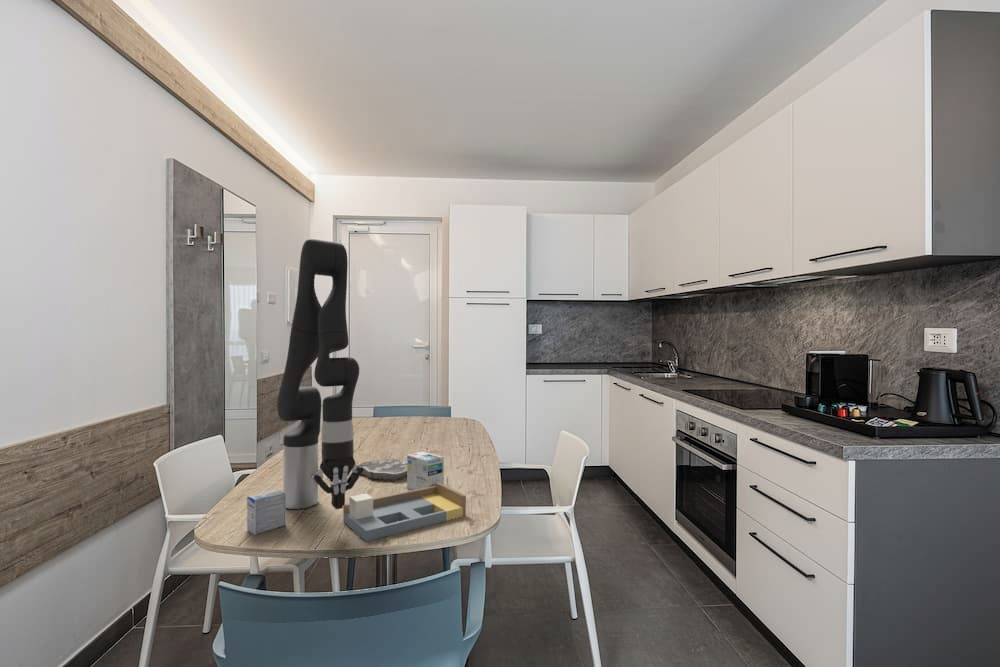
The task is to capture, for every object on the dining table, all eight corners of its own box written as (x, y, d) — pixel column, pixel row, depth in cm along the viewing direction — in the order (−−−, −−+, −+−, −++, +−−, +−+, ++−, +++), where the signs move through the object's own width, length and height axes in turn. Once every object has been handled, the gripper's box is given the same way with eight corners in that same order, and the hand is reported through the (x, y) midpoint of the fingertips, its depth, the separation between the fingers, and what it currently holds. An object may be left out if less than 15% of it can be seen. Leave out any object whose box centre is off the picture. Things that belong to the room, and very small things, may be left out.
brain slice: (425, 472, 180) (425, 463, 180) (394, 485, 165) (394, 476, 165) (382, 464, 189) (382, 456, 189) (348, 476, 174) (348, 467, 174)
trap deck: (343, 521, 133) (343, 500, 133) (437, 500, 150) (437, 481, 150) (366, 541, 121) (366, 518, 121) (465, 515, 138) (465, 495, 138)
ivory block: (349, 514, 132) (349, 496, 132) (366, 510, 135) (366, 493, 135) (356, 519, 128) (356, 501, 128) (373, 515, 131) (373, 498, 131)
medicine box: (277, 521, 133) (277, 488, 133) (286, 526, 130) (286, 492, 130) (246, 530, 127) (246, 496, 127) (254, 535, 124) (255, 500, 124)
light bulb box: (444, 491, 159) (444, 456, 159) (427, 496, 154) (427, 460, 154) (422, 483, 166) (423, 450, 166) (405, 488, 161) (406, 454, 161)
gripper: (357, 432, 134) (357, 498, 134) (305, 439, 126) (306, 509, 126) (369, 437, 128) (369, 506, 128) (315, 444, 120) (316, 518, 120)
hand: (338, 507), depth 127 cm, fingers closed
